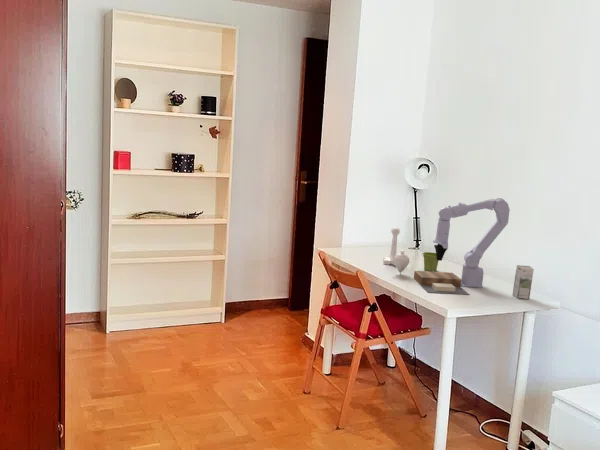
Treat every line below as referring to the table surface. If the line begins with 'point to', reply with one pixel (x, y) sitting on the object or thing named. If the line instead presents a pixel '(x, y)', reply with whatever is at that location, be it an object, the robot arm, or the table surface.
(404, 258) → the spinning top
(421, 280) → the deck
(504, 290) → the table surface
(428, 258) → the plant pot
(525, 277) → the syrup box
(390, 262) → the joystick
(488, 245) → the robot arm
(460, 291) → the mat
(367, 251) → the table surface
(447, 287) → the card
